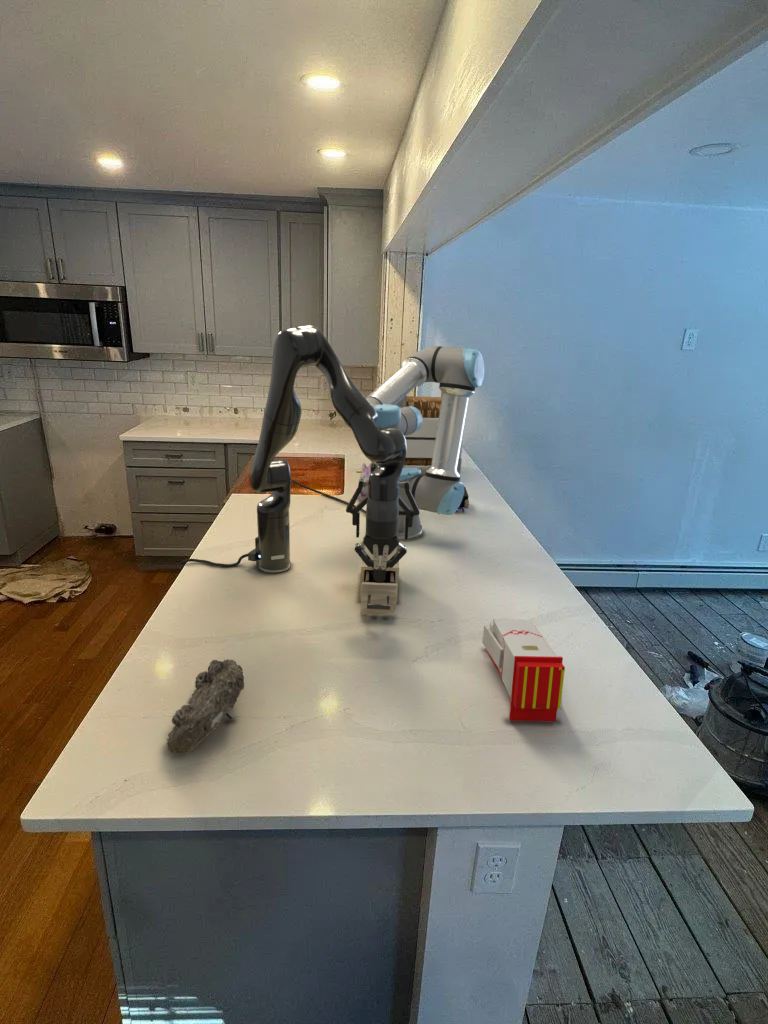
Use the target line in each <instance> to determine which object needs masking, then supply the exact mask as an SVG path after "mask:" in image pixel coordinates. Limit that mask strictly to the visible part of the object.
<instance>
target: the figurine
mask: <svg viewBox="0 0 768 1024" xmlns="http://www.w3.org/2000/svg"><path fill="white" fill-rule="evenodd" d="M371 464H372V462H371V463H370V464H369V465H368V466H367V464H366V463H362V468H361V469H362V473H361V475H360V479H363V480H364V481H369V476H370V467H371ZM367 494H368V486H366V487H365V488H364V489H362V491H361V493H360V495H359V497H358V498H359V500H360V501H361V500H362V499H363V498H364V497H365V496H366V495H367Z"/></svg>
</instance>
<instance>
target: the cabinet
mask: <svg viewBox="0 0 768 1024" xmlns="http://www.w3.org/2000/svg"><path fill="white" fill-rule="evenodd" d="M396 549H397V547H396V548H395V549H394V551H393V552H392V553H391V554H390V555H388V557H387V561H388V560H389V559H390V558H391V557H392V556H393V555H394V554H395V553H396ZM365 552H366V553H367V554H368V555H369V557H370V558H371V559H372V560H374V559H373V555H372V554H371V553H370V552H369V550H368V549H367V547H366V546H365ZM381 560H382V556H381V555H380V556H379V566H381ZM366 570H374V569H373V567H368V566H367V565H366V564H365V563H364V561H363V560H362V559H361V564H360V586H359V588H360V590H359V602H361V594H362V582H365V580H366ZM386 571H393V572H394V583H396V584H397V594H396V604H398V593H399V578H400V576H399V575H400V560H399V561H398V562H397V563H396V564H395V565H394V566H393V567H392V568H390V567H389V568H387V569H386Z"/></svg>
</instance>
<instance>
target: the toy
mask: <svg viewBox="0 0 768 1024" xmlns="http://www.w3.org/2000/svg"><path fill="white" fill-rule="evenodd" d="M481 639H482V640H481V643H482V645H483V646H484V648H485V650H486V651H485V652H486V653H487V654H488V656H489V658H490V660H491V661H492V663H493V665H494V667H495V669H496V671H497V672H498V675H499V676H500V678H501V680H502V683H503V684H504V686H505V688H506V691H507V693H508V695H509V697H510V704H509V715H508V720H509V722H557V716H558V710H561V708H562V707H561V706H562V697H563V687H564V678H565V670H566V669H565V668H566V667H565V665H564V664H563V660H564V658H563V656H557V654H556V653H555V652H554V650H553V649H552V647H551V646H550V645H549V642H547V640H546V639H545V637H544V636H543V635H542V633H541V631H540V630H539V629H538V627H537V625H536V624H535V623H534V622H533V621H532V619H505V618H504V619H499V618H498V619H496V618H493V619H492V621H489V626H488V625H486V624H484V625H483V632H482V638H481Z"/></svg>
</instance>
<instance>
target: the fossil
mask: <svg viewBox="0 0 768 1024" xmlns="http://www.w3.org/2000/svg"><path fill="white" fill-rule="evenodd" d="M243 670H244V669H243V667H242V665H240V664H237V662H236V661H235V660H234V659H232V658H231V659H227V658H226V659H224V660H223V661H222V660H217V659H212V660H211V661H210V663H209V665H208V666H207V671H201V672H199V673H198V674H197V675H196V676H195V680H194V684H195V685H194V687H195V689H194V690H193V693H192V694H191V697H190V698H189V700H188V704H184V705H182V706H181V707H180V709H177V710H176V711H175V713H174V715H173V716H172V718H171V723H172V724H173V727H172V730H171V731H170V732H168V734H167V738H166V741H167V742H166V745H167V749H168V750H169V751H173V752H174V753H176V754H178V753H182V752H188V751H189V752H192V751H193V750H195V748H196V747H197V746H199V744H200V743H201V742H203V741H204V740H205V739H206V738H207V737H208V736H209V735H210V734H211V733H212V732H214V730H215V729H217V727H218V726H219V724H220V722H221V721H222V720H223V719H224V718H225V716H226V717H227V719H229V720H233V717H232V715H230V714H229V710H230V709H231V708H234V706H235V704H236V703H237V702H238V699H239V697H240V695H241V693H242V691H243V690H245V689H244V688H245V675H244V671H243Z"/></svg>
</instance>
